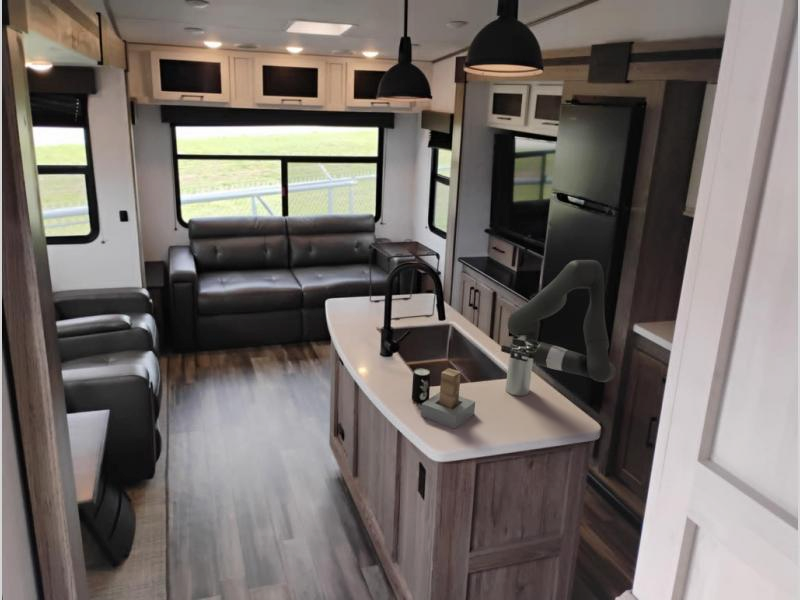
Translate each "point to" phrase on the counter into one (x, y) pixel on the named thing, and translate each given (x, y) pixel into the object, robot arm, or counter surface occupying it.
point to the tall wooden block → (449, 388)
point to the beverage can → (421, 385)
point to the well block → (448, 411)
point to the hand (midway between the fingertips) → (507, 344)
